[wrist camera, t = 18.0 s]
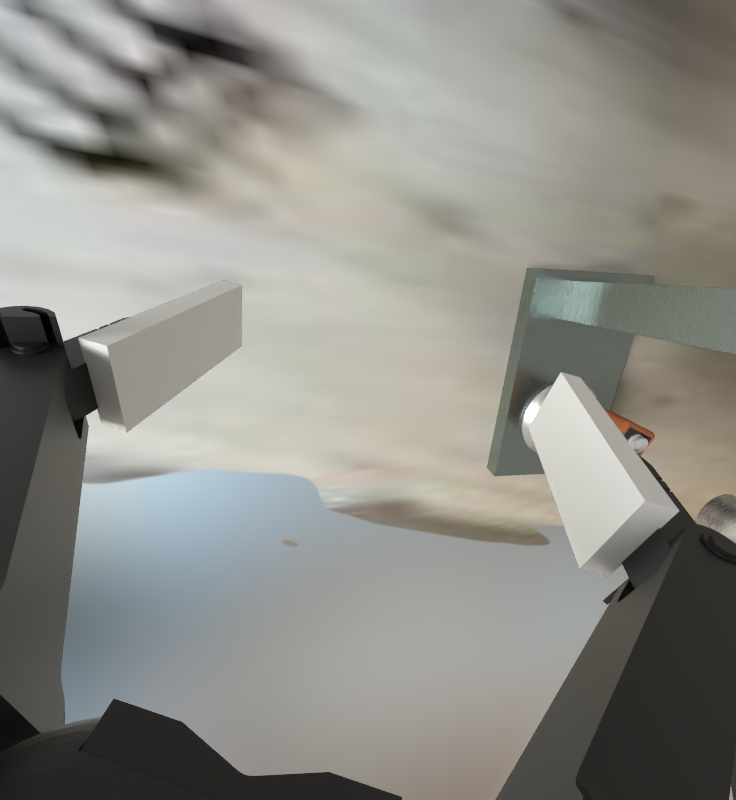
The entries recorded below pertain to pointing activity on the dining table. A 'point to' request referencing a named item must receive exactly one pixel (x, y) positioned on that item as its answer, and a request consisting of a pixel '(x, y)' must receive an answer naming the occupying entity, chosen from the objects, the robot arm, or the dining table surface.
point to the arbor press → (599, 352)
